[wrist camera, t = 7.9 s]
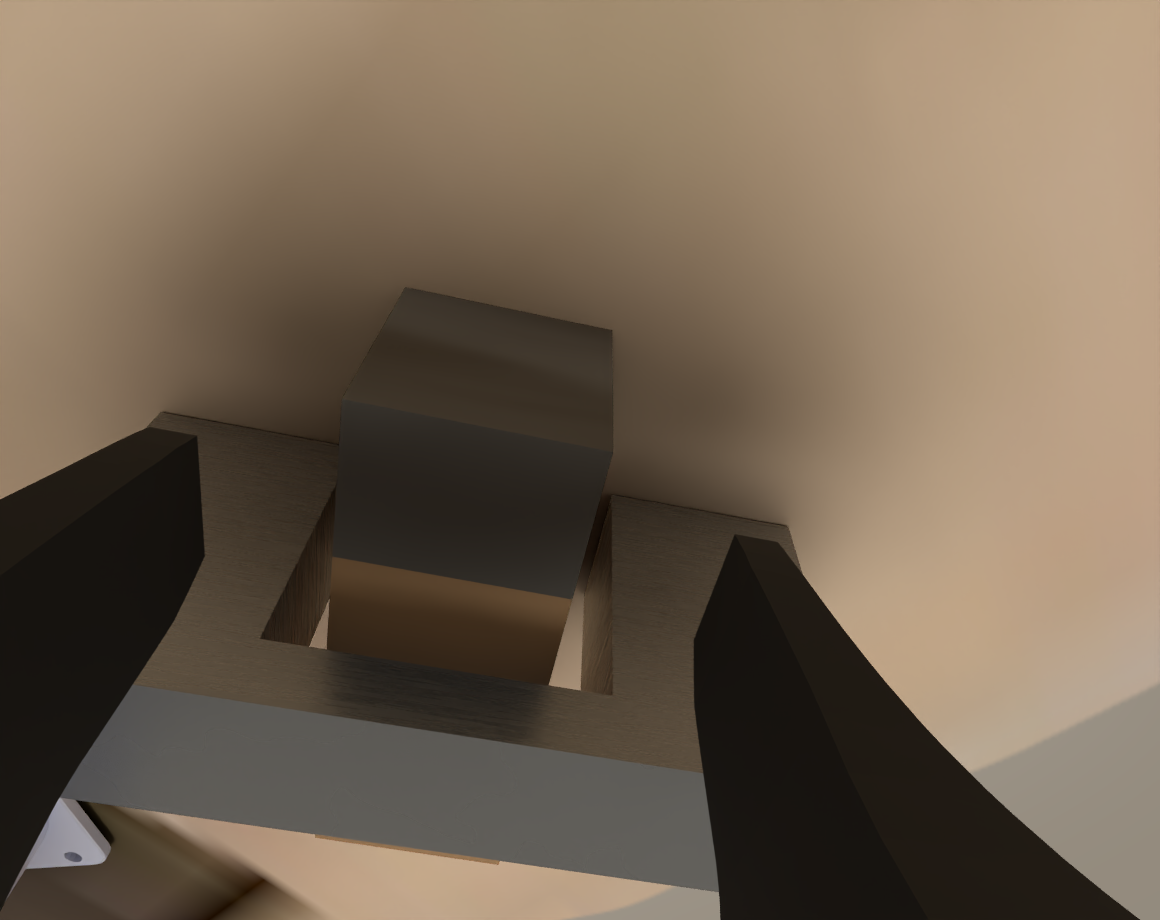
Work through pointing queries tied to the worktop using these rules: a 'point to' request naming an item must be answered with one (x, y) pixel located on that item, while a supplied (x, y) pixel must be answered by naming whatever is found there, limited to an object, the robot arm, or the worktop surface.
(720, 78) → the worktop surface
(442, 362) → the bar
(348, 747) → the u-shaped slotted block
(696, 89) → the worktop surface
